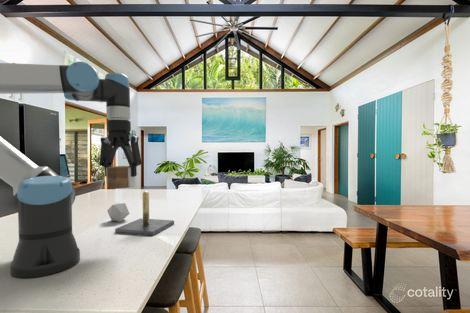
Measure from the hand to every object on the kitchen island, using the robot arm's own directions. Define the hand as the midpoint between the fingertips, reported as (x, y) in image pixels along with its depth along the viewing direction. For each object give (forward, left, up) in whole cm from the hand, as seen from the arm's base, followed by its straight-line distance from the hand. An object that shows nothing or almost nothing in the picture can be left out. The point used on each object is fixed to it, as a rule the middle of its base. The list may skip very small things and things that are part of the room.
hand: (121, 186), depth 92 cm
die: (+22, +18, -19) cm, 34 cm away
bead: (0, 0, 0) cm, 0 cm away
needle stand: (+14, -1, -18) cm, 23 cm away
